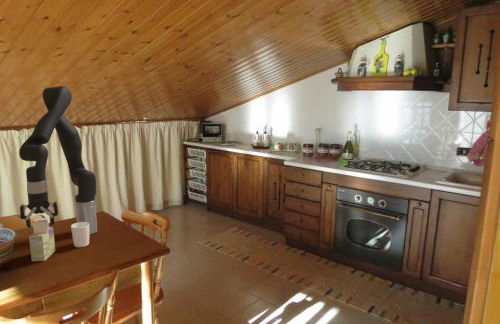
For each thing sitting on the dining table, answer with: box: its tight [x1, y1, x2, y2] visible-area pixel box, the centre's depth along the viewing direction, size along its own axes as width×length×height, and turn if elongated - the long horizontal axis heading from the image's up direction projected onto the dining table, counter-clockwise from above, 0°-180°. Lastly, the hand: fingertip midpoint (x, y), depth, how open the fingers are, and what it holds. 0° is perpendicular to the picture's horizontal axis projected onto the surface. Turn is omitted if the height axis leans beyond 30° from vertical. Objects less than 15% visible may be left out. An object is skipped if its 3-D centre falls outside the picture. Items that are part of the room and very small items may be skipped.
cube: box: [32, 217, 50, 234], centre depth 158 cm, size 5×5×5 cm
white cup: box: [70, 222, 90, 248], centre depth 173 cm, size 8×8×10 cm
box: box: [28, 226, 56, 262], centre depth 160 cm, size 10×6×12 cm, turn 5°
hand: (40, 226), depth 158 cm, fingers open, 8 cm apart
